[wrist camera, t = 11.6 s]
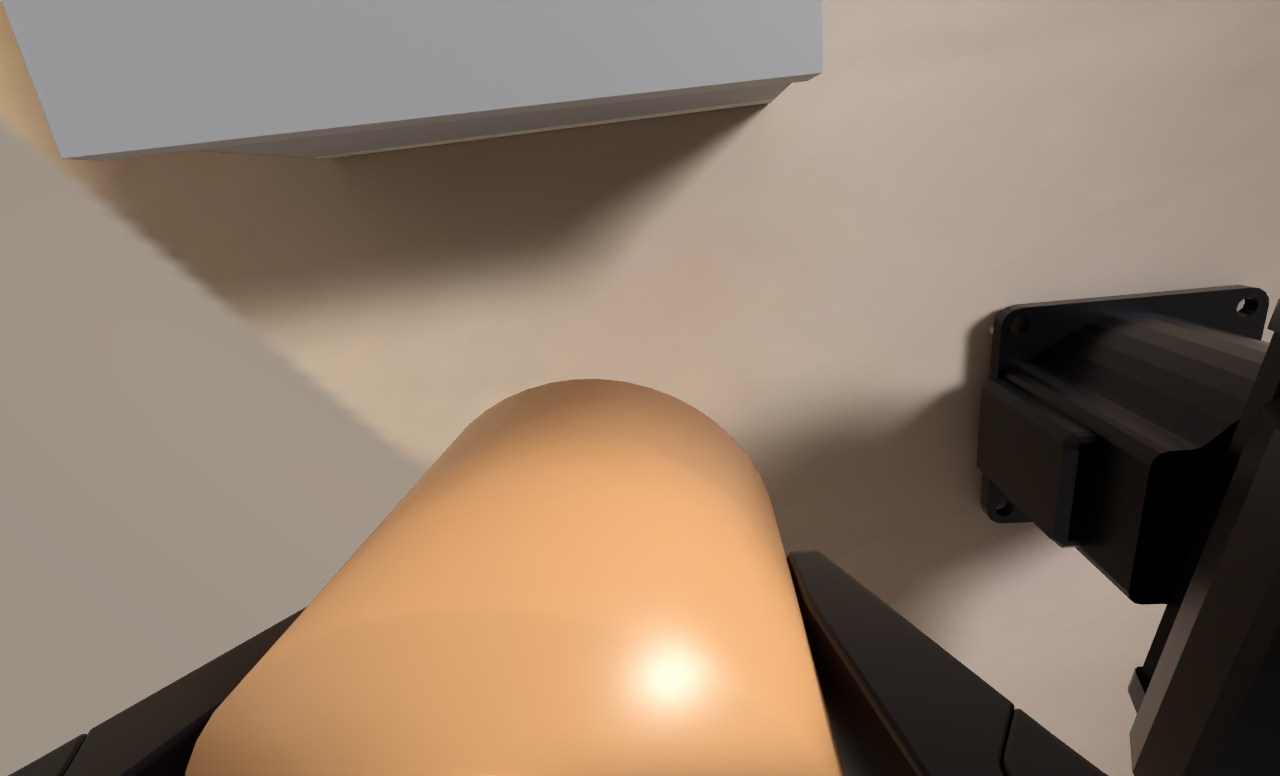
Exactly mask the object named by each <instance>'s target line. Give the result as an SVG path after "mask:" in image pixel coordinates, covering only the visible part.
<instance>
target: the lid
mask: <svg viewBox="0 0 1280 776" xmlns="http://www.w3.org/2000/svg"><path fill="white" fill-rule="evenodd" d="M1 1H2V4H3V7H4V9H5V12H6V14H7V17H8V20H9V22H10V25H11V27H12V30H13V33H14V35H15V38H16V41H17V43H18V46H19V48H20V51H21V54H22V56H23V59H24V62H25V64H26V67H27V69H28V72H29V75H30V77H31V80H32V82H33V85H34V88H35V90H36V93H37V96H38V98H39V101H40V103H41V106H42V109H43V111H44V114H45V117H46V119H47V122H48V124H49V127H50V130H51V132H52V135H53V137H54V140H55V143H56V145H57V148H58V151H59V153H60V156H61V158H62V159H79V160H96V161H103V160H112V159H120V158H129V157H138V156H147V155H156V154H165V153H174V152H182V151H191V150H200V149H209V148H218V147H227V146H236V145H244V144H253V143H262V142H271V141H280V140H289V139H297V138H306V137H315V136H324V135H333V134H342V133H351V132H359V131H368V130H377V129H386V128H395V127H404V126H412V125H421V124H430V123H439V122H448V121H457V120H466V119H474V118H483V117H492V116H501V115H510V114H519V113H527V112H536V111H545V110H554V109H563V108H572V107H581V106H589V105H598V104H607V103H616V102H625V101H634V100H643V99H651V98H660V97H669V96H678V95H687V94H696V93H704V92H713V91H722V90H731V89H740V88H749V87H758V86H766V85H775V84H784V83H793V82H802V81H808V80H810V79H811V78H813V77H815V76H817V75H819V74H821V73H822V26H821V0H1Z"/></svg>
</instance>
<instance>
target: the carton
mask: <svg viewBox="0 0 1280 776" xmlns="http://www.w3.org/2000/svg"><path fill="white" fill-rule="evenodd" d="M790 84H791V83H784V84H775V85H766V86H758V87H749V88H740V89H731V90H722V91H713V92H704V93H696V94H687V95H678V96H669V97H660V98H651V99H643V100H634V101H625V102H616V103H607V104H598V105H589V106H581V107H572V108H563V109H554V110H545V111H536V112H527V113H519V114H510V115H501V116H492V117H483V118H474V119H466V120H457V121H448V122H439V123H430V124H421V125H412V126H404V127H395V128H386V129H377V130H368V131H359V132H351V133H342V134H333V135H324V136H315V137H306V138H297V139H289V140H280V141H271V142H262V143H253V144H244V145H236V146H227V147H218V148H209V149H200V150H194V151H210V152H226V153H243V154H259V155H275V156H291V157H307V158H323V159H329V158H337V157H345V156H353V155H361V154H369V153H377V152H384V151H392V150H400V149H408V148H416V147H424V146H432V145H440V144H448V143H456V142H464V141H472V140H480V139H488V138H495V137H503V136H511V135H519V134H527V133H535V132H543V131H551V130H559V129H567V128H575V127H583V126H591V125H599V124H607V123H614V122H622V121H630V120H638V119H646V118H654V117H662V116H670V115H678V114H686V113H694V112H702V111H710V110H718V109H726V108H733V107H741V106H749V105H757V104H765V103H771V102H772V101H773V100H774V99H775V98H776V97H777V96H778V95H779V94H780V93H781V92H782V91H783V90H784V89H786V88H787V87H788V86H789V85H790Z"/></svg>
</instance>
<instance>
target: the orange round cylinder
mask: <svg viewBox="0 0 1280 776" xmlns="http://www.w3.org/2000/svg"><path fill="white" fill-rule="evenodd" d="M185 776H845V775H844V771H843V767H842V763H841V760H840V756H839V752H838V749H837V745H836V741H835V737H834V734H833V730H832V726H831V723H830V719H829V715H828V711H827V708H826V704H825V700H824V697H823V693H822V689H821V686H820V682H819V678H818V674H817V671H816V667H815V663H814V660H813V656H812V652H811V648H810V645H809V641H808V637H807V634H806V630H805V626H804V622H803V619H802V615H801V611H800V608H799V604H798V600H797V596H796V593H795V589H794V585H793V582H792V578H791V574H790V570H789V567H788V563H787V559H786V556H785V552H784V548H783V544H782V541H781V537H780V533H779V530H778V526H777V522H776V518H775V515H774V511H773V507H772V504H771V500H770V497H769V494H768V492H767V489H766V487H765V485H764V483H763V480H762V478H761V476H760V474H759V473H758V471H757V469H756V468H755V466H754V465H753V463H752V461H751V460H750V458H749V457H748V455H747V454H746V453H745V452H744V451H743V449H742V448H741V447H740V446H739V445H738V443H737V442H736V441H735V440H734V439H733V438H732V437H731V436H730V435H729V434H728V433H727V432H726V431H725V430H724V429H722V428H721V427H720V426H719V425H718V424H717V423H716V422H715V421H713V420H712V419H710V418H709V417H707V416H706V415H704V414H703V413H702V412H700V411H699V410H697V409H696V408H694V407H692V406H690V405H688V404H686V403H685V402H683V401H681V400H679V399H677V398H675V397H673V396H670V395H668V394H665V393H662V392H660V391H657V390H654V389H651V388H648V387H644V386H640V385H636V384H631V383H627V382H621V381H612V380H602V379H581V380H568V381H561V382H554V383H549V384H545V385H542V386H538V387H535V388H531V389H527V390H525V391H522V392H520V393H518V394H516V395H513V396H511V397H509V398H506V399H504V400H503V401H501V402H499V403H498V404H496V405H495V406H493V407H491V408H490V409H488V410H486V411H485V412H484V413H482V414H481V415H480V416H479V417H478V418H476V419H475V420H474V421H473V422H472V423H470V424H469V425H468V426H467V427H466V428H465V430H464V431H463V432H462V433H461V434H460V435H459V436H458V437H457V438H456V440H455V441H454V442H453V443H452V444H451V445H450V446H449V447H448V449H447V450H446V451H445V452H444V453H443V454H442V455H441V456H440V458H439V459H438V460H437V461H436V462H435V463H434V464H433V465H432V467H431V468H430V469H429V470H428V471H427V472H426V473H425V475H424V476H423V477H422V478H421V479H420V480H419V481H418V482H417V484H416V485H415V486H414V487H413V488H412V489H411V490H410V492H409V493H408V494H407V495H406V496H405V497H404V498H403V500H401V502H400V503H399V504H398V505H397V506H396V507H395V508H394V509H393V511H392V512H391V513H390V514H389V515H388V516H387V517H386V519H385V520H384V521H383V522H382V523H381V524H380V525H379V526H378V528H377V529H376V530H375V531H374V532H373V533H372V534H371V536H370V537H369V538H368V539H367V540H366V541H365V542H364V543H363V545H362V546H361V547H360V548H359V549H358V550H357V551H356V552H355V553H354V555H353V556H352V557H351V558H350V559H349V560H348V561H347V563H346V564H345V565H344V566H343V567H342V568H341V569H340V570H339V572H338V573H337V574H336V575H335V576H334V577H333V578H332V579H331V581H330V582H329V583H328V584H327V585H326V586H325V587H324V589H323V590H322V591H321V592H320V593H319V594H318V596H316V598H315V599H314V600H313V601H312V602H311V603H310V604H309V605H308V607H307V608H306V609H305V610H304V611H303V612H302V613H301V614H300V616H299V617H298V618H297V619H296V620H295V621H294V622H293V623H292V625H291V626H290V627H289V628H288V629H287V630H286V631H285V632H284V634H283V635H282V636H281V637H280V638H279V639H278V640H277V641H276V643H275V644H274V645H273V646H272V647H271V648H270V649H269V651H268V652H267V653H266V654H265V655H264V656H263V657H262V658H261V660H260V661H259V662H258V663H257V664H256V665H255V666H254V667H253V669H252V670H251V671H250V672H249V673H248V674H247V675H246V676H245V678H244V679H243V680H242V681H241V682H240V683H239V684H238V685H237V687H236V688H235V689H234V690H233V691H232V692H231V693H230V695H229V696H228V697H227V698H226V699H225V700H224V701H223V702H222V704H221V705H220V706H219V707H218V708H217V709H216V710H215V711H214V713H213V714H212V716H211V718H210V719H209V721H208V723H207V724H206V726H205V728H204V729H203V731H202V733H201V734H200V736H199V738H198V739H197V741H196V744H195V747H194V749H193V752H192V755H191V758H190V760H189V763H188V766H187V769H186V772H185Z"/></svg>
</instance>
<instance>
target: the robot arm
mask: <svg viewBox="0 0 1280 776" xmlns="http://www.w3.org/2000/svg"><path fill="white" fill-rule="evenodd" d="M1244 298H1245V304H1244V306H1243V308H1242V309H1241V310H1240V311H1238V312H1237V310H1236V307H1237V305H1238V303H1239V302H1240V301H1242V300H1243V299H1244ZM1268 306H1269V298H1268V296H1267V294H1266V292H1265V291H1263V290H1261V289H1260V288H1255V287H1249V286H1243V285H1233V286H1222V287H1210V288H1199V289H1188V290H1176V291H1165V292H1154V293H1142V294H1131V295H1120V296H1108V297H1097V298H1086V299H1075V300H1063V301H1052V302H1041V303H1029V304H1018V305H1012V306H1009V307H1006V308H1005V309H1003V310H1002V311H1001V312H1000V313H999V314H998V316H997V317H996V319H995V323H994V332H993V345H992V358H991V372H990V380H989V381H988V382H987V383H986V384H985V386H984V387H983V388H982V395H981V409H980V423H979V437H978V451H977V467H978V468H979V469H980V470H981V471H982V472H983V477H982V491H981V508H982V510H983V511H984V512H985V513H986V515H987V516H988V517H989V518H990V519H991V520H993V521H995V522H996V523H1019V522H1034V523H1035V524H1036V525H1037V526H1038V527H1039V528H1040V529H1041V530H1042V531H1043V532H1044V533H1045V534H1046V535H1047V536H1048V537H1049V538H1050V539H1051V540H1052V541H1054V542H1055V543H1056V544H1057V545H1058V546H1060V547H1062V548H1066V547H1075V548H1076V549H1077V550H1078V551H1079V552H1081V553H1082V554H1083V555H1084V556H1085V557H1086V558H1087V559H1088V560H1089V561H1090V562H1091V563H1092V564H1093V565H1094V566H1095V567H1096V568H1097V569H1099V570H1100V571H1101V572H1102V573H1103V574H1104V575H1105V576H1106V577H1107V578H1108V579H1109V580H1110V581H1111V582H1112V583H1113V584H1114V585H1116V586H1117V587H1118V588H1119V589H1120V590H1121V591H1122V592H1123V593H1124V594H1125V595H1126V596H1127V597H1128V598H1129V599H1130V600H1132V601H1133V602H1134V603H1137V604H1167V607H1166V609H1165V612H1164V614H1163V617H1162V619H1161V622H1160V624H1159V627H1158V630H1157V632H1156V635H1155V637H1154V640H1153V642H1152V645H1151V647H1150V650H1149V652H1148V655H1147V658H1146V660H1145V663H1144V665H1143V667H1137V668H1136V669H1135V671H1134V673H1133V676H1132V679H1131V681H1130V684H1129V686H1128V692H1129V694H1130V697H1131V699H1132V702H1133V704H1134V707H1135V710H1136V712H1137V716H1136V719H1135V721H1134V724H1133V726H1132V729H1131V731H1130V745H1131V759H1132V772H1133V774H1134V776H1280V299H1279V300H1278V302H1277V305H1276V307H1275V310H1274V313H1273V315H1272V318H1271V320H1270V323H1269V325H1268V329H1269V330H1272V331H1274V334H1273V337H1272V339H1271V342H1270V343H1267V342H1264V341H1261V338H1262V334H1263V329H1264V325H1265V320H1266V315H1267V311H1268ZM1019 317H1023V325H1022V327H1021V328H1020V329H1019V330H1018V331H1015V332H1012V331H1011V325H1012V322H1013V321H1014V320H1015V319H1016V318H1019ZM1002 501H1007V503H1006V505H1005V506H1004V507H1003V508H1000V509H996V506H997V505H998V504H999V503H1000V502H1002ZM787 563H788V567H789V570H790V574H791V578H792V582H793V585H794V589H795V593H796V596H797V600H798V604H799V608H800V611H801V615H802V619H803V622H804V626H805V630H806V634H807V637H808V641H809V645H810V648H811V652H812V656H813V660H814V663H815V667H816V671H817V674H818V678H819V682H820V686H821V689H822V693H823V697H824V700H825V704H826V708H827V711H828V715H829V719H830V723H831V726H832V730H833V734H834V737H835V741H836V745H837V749H838V752H839V756H840V760H841V763H842V767H843V771H844V775H845V776H1108V775H1106V774H1105V773H1103V772H1102V771H1101V770H1099V769H1098V768H1097V767H1095V766H1094V765H1093V764H1091V763H1090V762H1089V761H1087V760H1086V759H1085V758H1083V757H1082V756H1081V755H1079V754H1078V753H1077V752H1075V751H1074V750H1073V749H1071V748H1070V747H1069V746H1067V745H1066V744H1065V743H1063V742H1062V741H1061V740H1059V739H1058V738H1057V737H1055V736H1054V735H1053V734H1051V733H1050V732H1049V731H1048V730H1046V729H1045V728H1044V727H1042V726H1041V725H1040V724H1039V723H1037V722H1036V721H1035V720H1034V719H1032V718H1031V717H1030V716H1028V715H1027V714H1026V713H1025V712H1023V711H1022V710H1021V709H1015V710H1014V705H1013V703H1011V702H1010V701H1009V700H1008V699H1006V698H1005V697H1004V696H1003V695H1001V694H1000V693H999V692H997V691H996V690H995V689H994V688H992V687H991V686H990V685H989V684H987V683H986V682H985V681H983V680H982V679H981V678H980V677H978V676H977V675H976V674H975V673H973V672H972V671H971V670H969V669H968V668H967V667H966V666H964V665H963V664H962V663H961V662H959V661H958V660H957V659H955V658H954V657H953V656H952V655H950V654H949V653H948V652H947V651H945V650H944V649H943V648H941V647H940V646H939V645H938V644H936V643H935V642H934V641H933V640H931V639H930V638H929V637H928V636H926V635H925V634H924V633H922V632H921V631H920V630H919V629H917V628H916V627H915V626H914V625H912V624H911V623H910V622H908V621H907V620H906V619H905V618H903V617H902V616H901V615H900V614H898V613H897V612H896V611H894V610H893V609H892V608H891V607H889V606H888V605H887V604H886V603H884V602H883V601H882V600H880V599H879V598H878V597H877V596H875V595H874V594H873V593H872V592H870V591H869V590H868V589H866V588H865V587H864V586H863V585H861V584H860V583H859V582H858V581H856V580H855V579H854V578H852V577H851V576H850V575H849V574H847V573H846V572H845V571H844V570H842V569H841V568H840V567H838V566H837V565H836V564H835V563H833V562H832V561H831V560H830V559H828V558H827V557H826V556H824V555H823V554H822V553H820V552H819V551H816V550H811V551H793V552H790V553H789V554H788V556H787ZM307 607H308V606H307ZM307 607H305V608H304V609H302V610H300V611H298V612H297V613H295V614H293V615H291V616H290V617H288V618H286V619H284V620H283V621H281V622H279V623H277V624H275V625H274V626H272V627H270V628H268V629H267V630H265V631H263V632H261V633H260V634H258V635H256V636H254V637H253V638H251V639H249V640H247V641H246V642H244V643H242V644H240V645H239V646H237V647H235V648H234V649H231V650H230V651H228V652H227V653H224V654H223V655H221V656H219V657H217V658H216V659H214V660H212V661H210V662H209V663H207V664H205V665H204V666H202V667H200V668H198V669H196V670H195V671H193V672H191V673H189V674H187V675H186V676H184V677H182V678H181V679H179V680H177V681H175V682H173V683H172V684H170V685H168V686H167V687H165V688H163V689H161V690H160V691H158V692H156V693H154V694H152V695H150V696H149V697H147V698H145V699H144V700H142V701H140V702H138V703H137V704H135V705H133V706H131V707H129V708H128V709H126V710H124V711H122V712H121V713H119V714H117V715H115V716H114V717H112V718H110V719H108V720H107V721H105V722H103V723H101V724H99V725H98V726H96V727H94V728H93V729H91V730H90V732H89V733H88V735H87V734H82V735H80V736H78V737H76V738H74V739H73V740H71V741H69V742H67V743H66V744H64V745H62V746H61V747H59V748H57V749H55V750H53V751H52V752H50V753H48V754H46V755H45V756H43V757H41V758H39V759H37V760H36V761H34V762H32V763H30V764H29V765H27V766H25V767H23V768H21V769H19V770H18V771H16V772H14V773H12V774H10V775H9V776H185V772H186V769H187V766H188V763H189V760H190V758H191V755H192V752H193V749H194V747H195V744H196V741H197V739H198V738H199V736H200V734H201V733H202V731H203V729H204V728H205V726H206V724H207V723H208V721H209V719H210V718H211V716H212V714H213V713H214V711H215V710H216V709H217V708H218V707H219V706H220V705H221V704H222V702H223V701H224V700H225V699H226V698H227V697H228V696H229V695H230V693H231V692H232V691H233V690H234V689H235V688H236V687H237V685H238V684H239V683H240V682H241V681H242V680H243V679H244V678H245V676H246V675H247V674H248V673H249V672H250V671H251V670H252V669H253V667H254V666H255V665H256V664H257V663H258V662H259V661H260V660H261V658H262V657H263V656H264V655H265V654H266V653H267V652H268V651H269V649H270V648H271V647H272V646H273V645H274V644H275V643H276V641H277V640H278V639H279V638H280V637H281V636H282V635H283V634H284V632H285V631H286V630H287V629H288V628H289V627H290V626H291V625H292V623H293V622H294V621H295V620H296V619H297V618H298V617H299V616H300V614H301V613H302V612H303V611H304V610H305V609H306V608H307Z"/></svg>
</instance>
